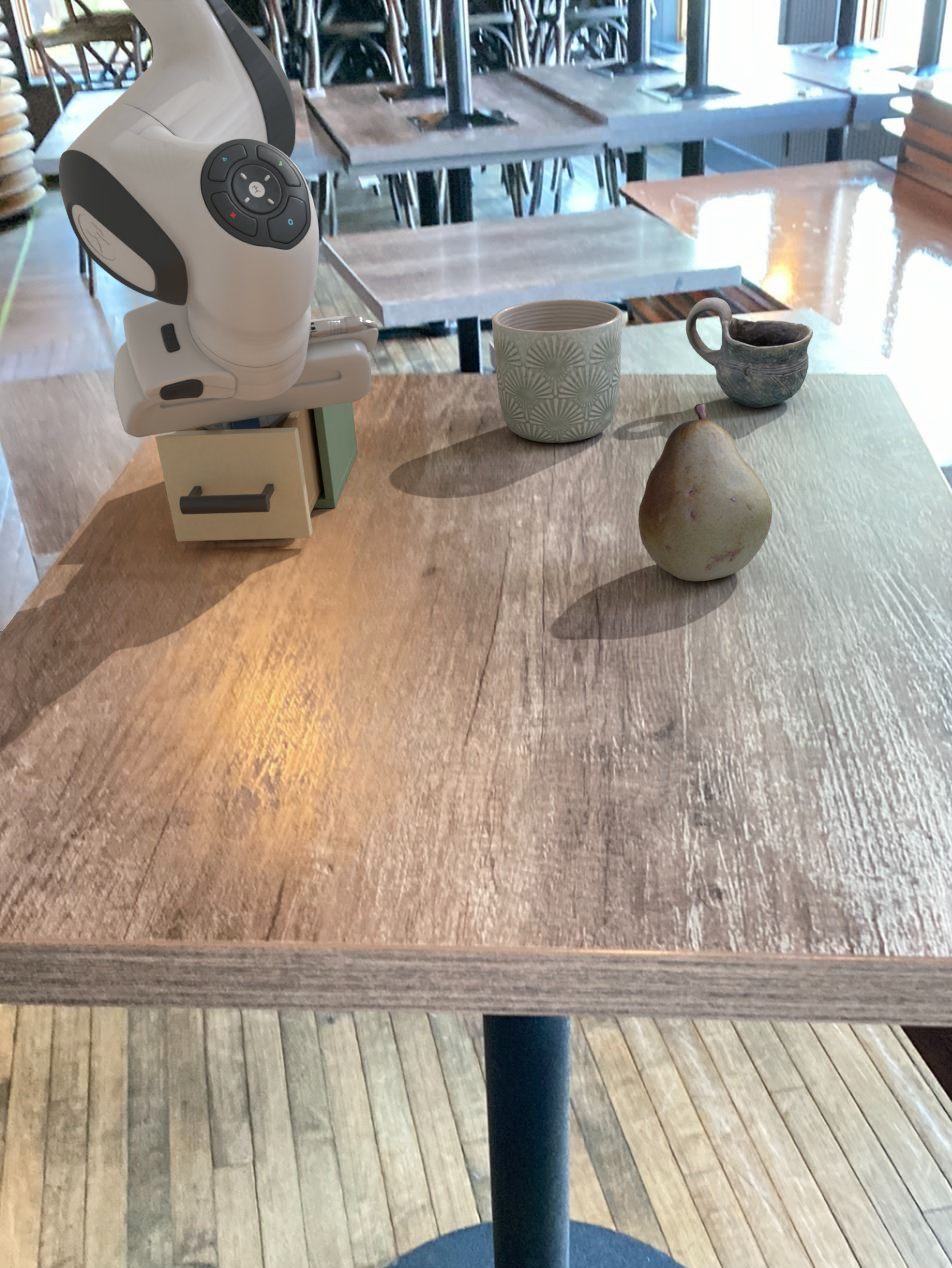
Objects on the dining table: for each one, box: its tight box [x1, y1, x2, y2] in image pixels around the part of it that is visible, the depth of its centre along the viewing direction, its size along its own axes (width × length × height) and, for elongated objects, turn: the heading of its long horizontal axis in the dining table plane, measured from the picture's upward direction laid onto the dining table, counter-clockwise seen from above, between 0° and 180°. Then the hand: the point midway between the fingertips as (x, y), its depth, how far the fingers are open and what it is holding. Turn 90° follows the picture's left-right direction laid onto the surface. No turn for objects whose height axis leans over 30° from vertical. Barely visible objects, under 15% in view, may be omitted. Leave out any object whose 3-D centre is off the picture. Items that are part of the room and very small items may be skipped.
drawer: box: [155, 408, 324, 542], centre depth 112 cm, size 18×11×9 cm, turn 177°
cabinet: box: [313, 402, 359, 509], centre depth 121 cm, size 15×13×11 cm
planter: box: [491, 298, 623, 444], centre depth 129 cm, size 12×12×11 cm
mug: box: [685, 297, 814, 408], centre depth 133 cm, size 10×12×10 cm
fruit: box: [637, 403, 773, 582], centre depth 100 cm, size 10×9×12 cm
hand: (243, 430), depth 112 cm, fingers closed on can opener, 2 cm apart
